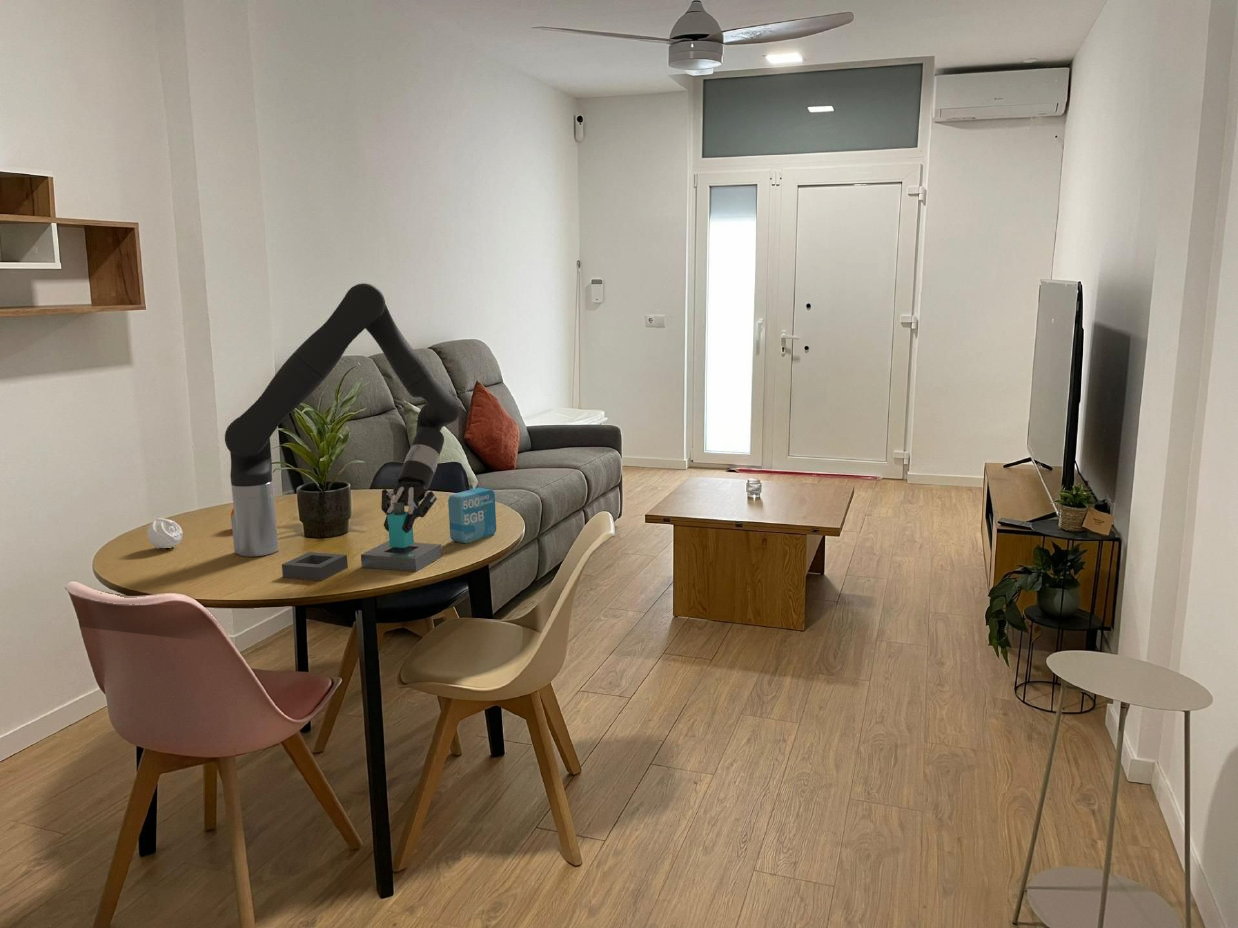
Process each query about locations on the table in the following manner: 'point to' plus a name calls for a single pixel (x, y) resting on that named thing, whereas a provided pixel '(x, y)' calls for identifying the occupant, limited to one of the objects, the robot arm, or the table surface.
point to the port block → (401, 556)
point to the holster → (314, 566)
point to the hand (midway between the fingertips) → (396, 530)
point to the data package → (472, 515)
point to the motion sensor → (164, 533)
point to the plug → (399, 527)
